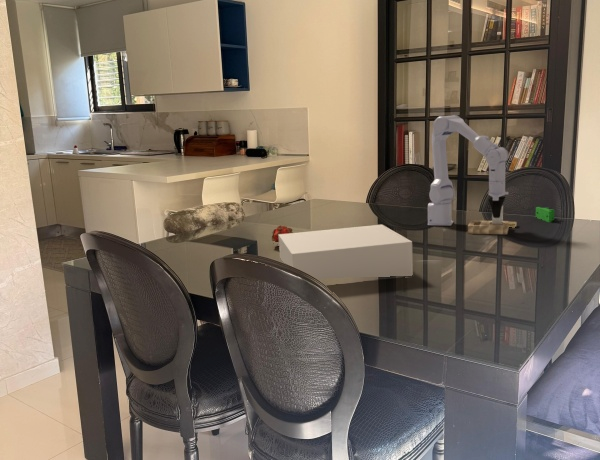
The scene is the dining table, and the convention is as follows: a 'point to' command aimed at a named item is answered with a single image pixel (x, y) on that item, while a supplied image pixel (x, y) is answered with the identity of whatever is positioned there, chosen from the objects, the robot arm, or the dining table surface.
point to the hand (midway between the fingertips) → (496, 216)
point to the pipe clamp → (545, 214)
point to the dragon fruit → (280, 232)
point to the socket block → (487, 227)
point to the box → (348, 252)
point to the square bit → (498, 220)
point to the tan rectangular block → (512, 224)
